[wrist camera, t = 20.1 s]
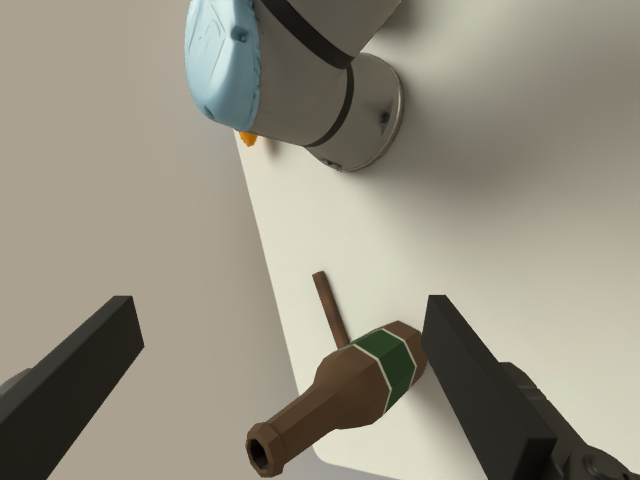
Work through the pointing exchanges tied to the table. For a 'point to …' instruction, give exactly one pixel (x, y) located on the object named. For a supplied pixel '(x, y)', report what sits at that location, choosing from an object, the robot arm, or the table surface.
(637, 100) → the table surface
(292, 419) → the beer bottle
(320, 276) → the wooden spoon
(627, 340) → the table surface
